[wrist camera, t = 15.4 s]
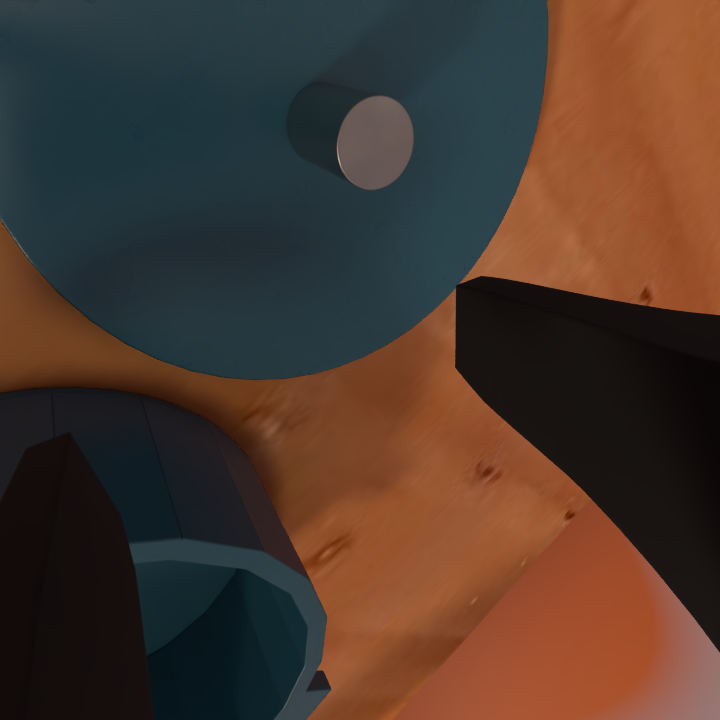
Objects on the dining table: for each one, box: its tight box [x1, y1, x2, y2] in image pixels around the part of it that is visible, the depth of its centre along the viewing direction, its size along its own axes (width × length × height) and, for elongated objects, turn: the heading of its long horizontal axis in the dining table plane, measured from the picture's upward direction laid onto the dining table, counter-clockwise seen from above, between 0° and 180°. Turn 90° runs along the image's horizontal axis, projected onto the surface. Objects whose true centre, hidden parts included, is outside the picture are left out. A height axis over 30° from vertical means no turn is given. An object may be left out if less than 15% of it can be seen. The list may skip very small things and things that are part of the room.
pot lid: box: [0, 0, 548, 380], centre depth 16 cm, size 19×19×5 cm
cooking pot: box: [0, 387, 331, 720], centre depth 19 cm, size 18×23×8 cm
